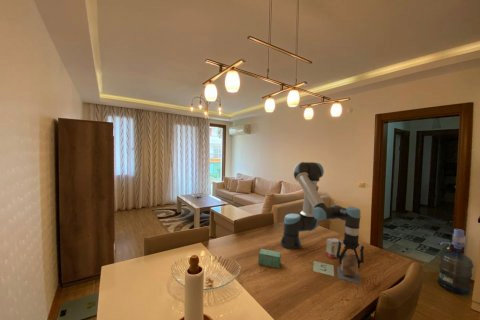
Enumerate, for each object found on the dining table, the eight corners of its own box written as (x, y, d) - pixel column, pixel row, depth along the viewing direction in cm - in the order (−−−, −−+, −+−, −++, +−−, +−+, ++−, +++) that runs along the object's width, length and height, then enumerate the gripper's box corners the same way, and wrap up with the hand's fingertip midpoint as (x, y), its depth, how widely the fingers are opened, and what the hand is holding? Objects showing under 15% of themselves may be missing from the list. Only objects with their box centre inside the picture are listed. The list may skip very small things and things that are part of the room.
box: (279, 268, 130) (280, 257, 130) (258, 264, 134) (258, 253, 133) (280, 262, 137) (281, 251, 137) (260, 259, 141) (260, 248, 140)
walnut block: (342, 273, 125) (343, 257, 124) (341, 267, 131) (342, 252, 131) (355, 277, 122) (357, 260, 122) (354, 270, 129) (355, 254, 128)
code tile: (312, 271, 129) (312, 270, 129) (313, 261, 141) (313, 260, 141) (334, 276, 125) (334, 276, 125) (333, 265, 137) (333, 265, 137)
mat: (338, 278, 123) (338, 278, 123) (336, 266, 136) (336, 266, 136) (361, 284, 118) (361, 283, 118) (358, 271, 131) (358, 271, 131)
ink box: (330, 258, 146) (331, 241, 145) (325, 255, 150) (326, 238, 150) (340, 257, 148) (341, 240, 148) (335, 253, 153) (336, 237, 152)
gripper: (333, 232, 126) (330, 270, 127) (372, 239, 118) (369, 279, 120) (333, 228, 133) (330, 263, 134) (369, 234, 125) (366, 272, 127)
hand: (348, 271), depth 127 cm, fingers closed on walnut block, 7 cm apart
